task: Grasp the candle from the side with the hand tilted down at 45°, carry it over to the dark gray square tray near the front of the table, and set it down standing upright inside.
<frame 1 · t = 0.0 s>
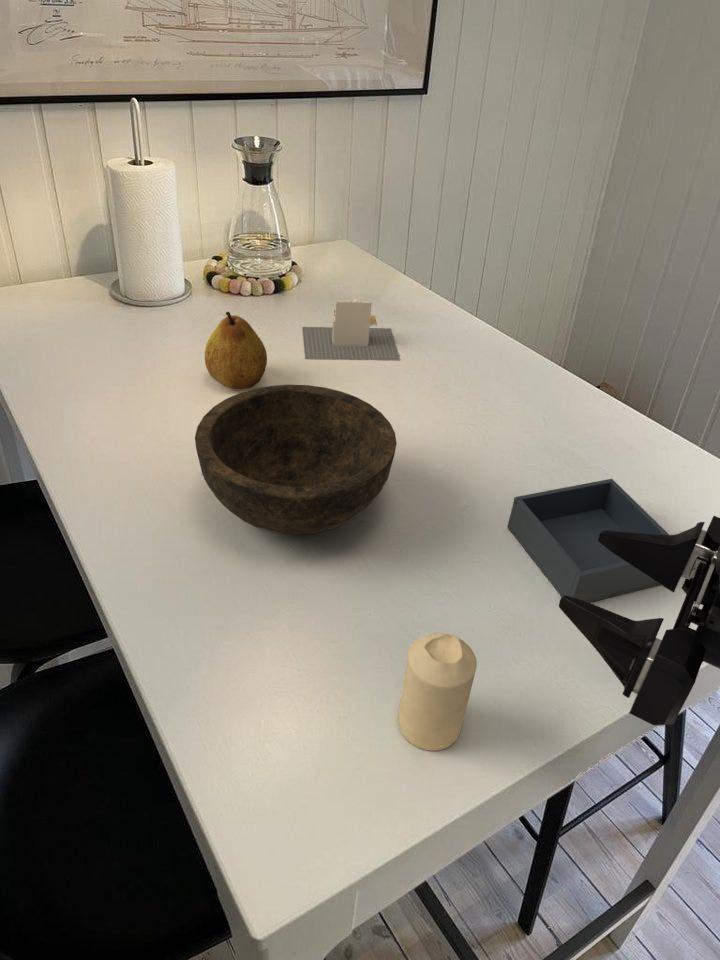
hand: (581, 566, 59), 16 cm above the table, tool horizontal, fingers open, 9 cm apart
fruit: (236, 382, 110), on the table
candle: (428, 724, 65), on the table
architectural model: (349, 344, 122), on the table
bowl: (295, 507, 88), on the table
dark gray square tray: (587, 553, 84), on the table
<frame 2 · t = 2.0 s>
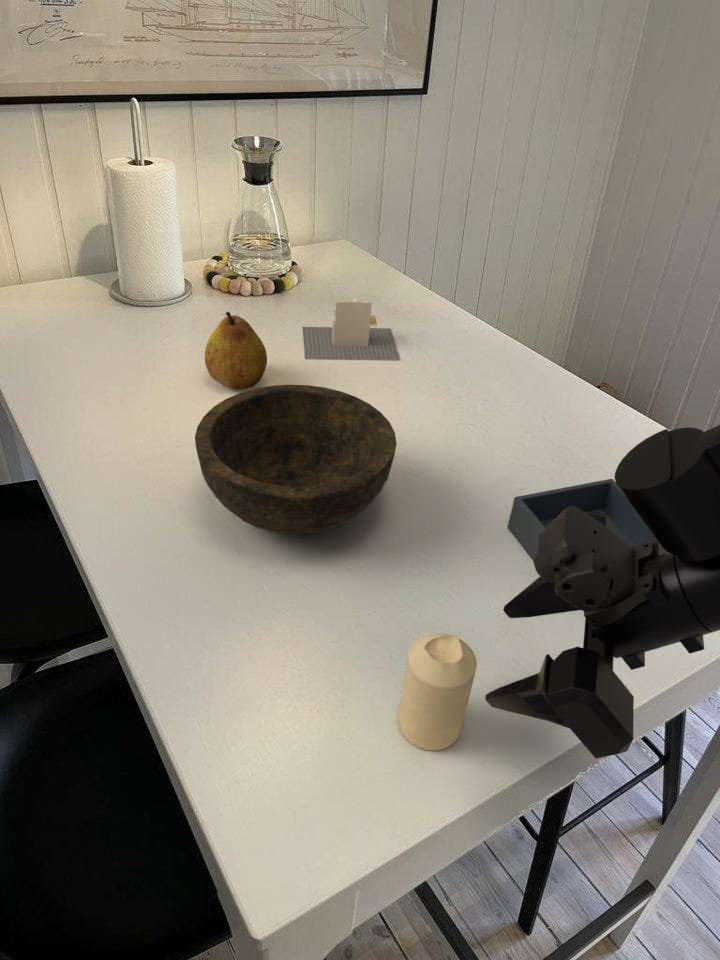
hand: (497, 654, 58), 11 cm above the table, tool tilted 45°, fingers open, 9 cm apart
nothing on the table moved.
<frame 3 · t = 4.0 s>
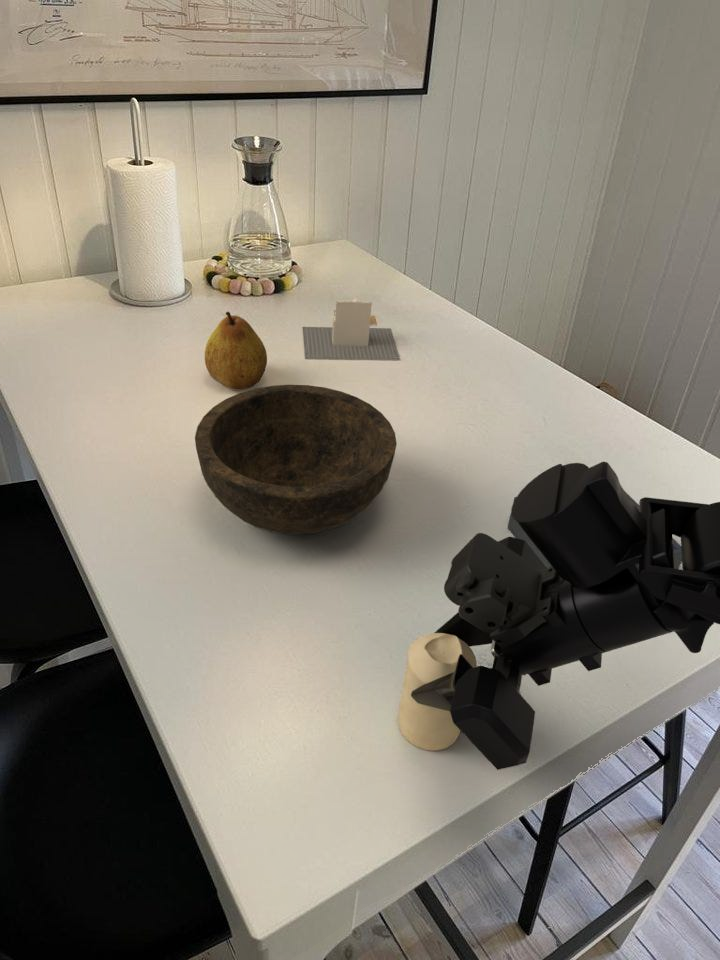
hand: (422, 669, 61), 7 cm above the table, tool tilted 45°, fingers closed on candle, 5 cm apart
candle: (428, 724, 65), on the table, touching gripper
everything else where it was.
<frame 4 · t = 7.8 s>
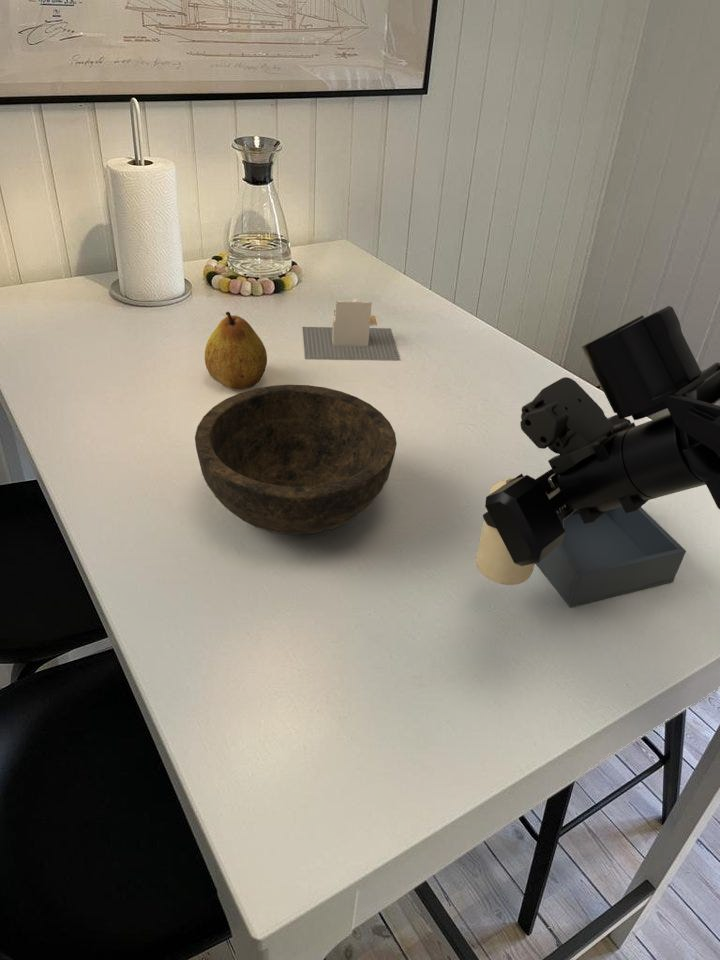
hand: (504, 506, 70), 12 cm above the table, tool tilted 45°, fingers closed on candle, 5 cm apart
candle: (503, 567, 73), point 6 cm above the table, touching gripper
everything else where it was.
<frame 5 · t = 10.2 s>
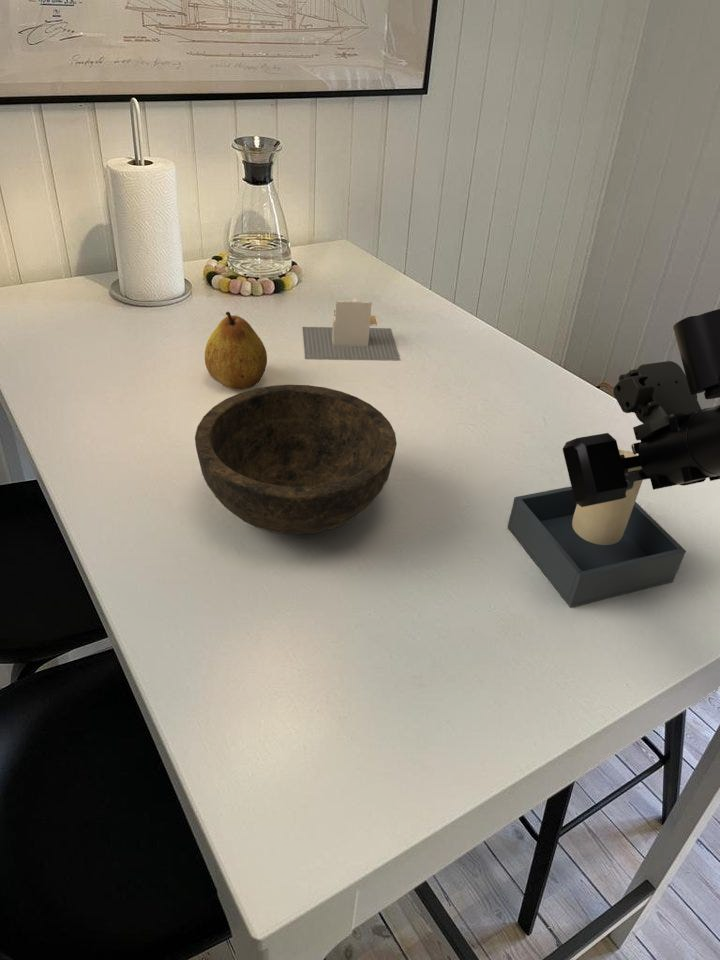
hand: (605, 473, 79), 10 cm above the table, tool tilted 45°, fingers closed on candle, 5 cm apart
candle: (596, 530, 82), point 4 cm above the table, touching gripper
everything else where it was.
when the fingers open (7 cm above the table, at t = 11.7 s): candle stays where it is, resting on dark gray square tray.
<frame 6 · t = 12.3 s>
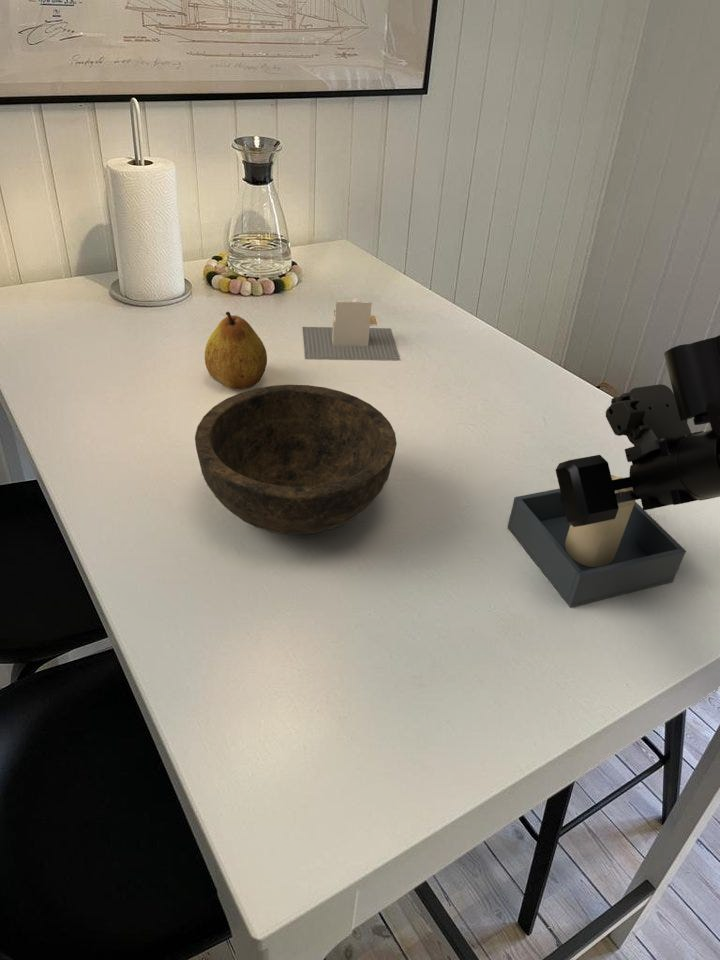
hand: (597, 490, 81), 8 cm above the table, tool tilted 45°, fingers open, 9 cm apart
candle: (588, 552, 84), resting on dark gray square tray
everything else where it was.
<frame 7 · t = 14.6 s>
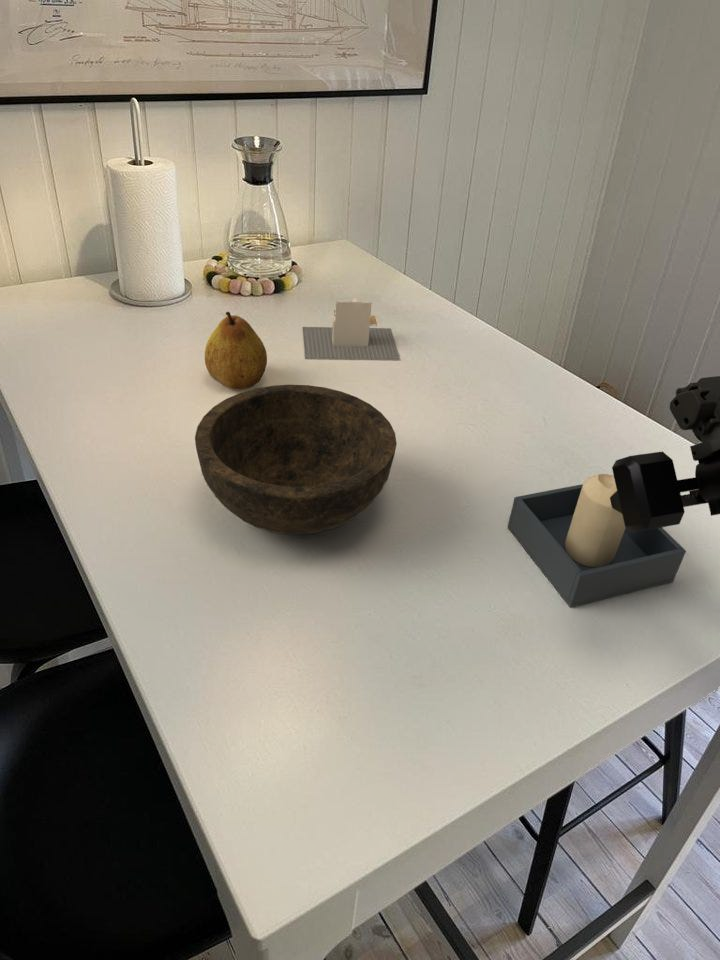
hand: (651, 496, 73), 13 cm above the table, tool tilted 45°, fingers open, 9 cm apart
nothing on the table moved.
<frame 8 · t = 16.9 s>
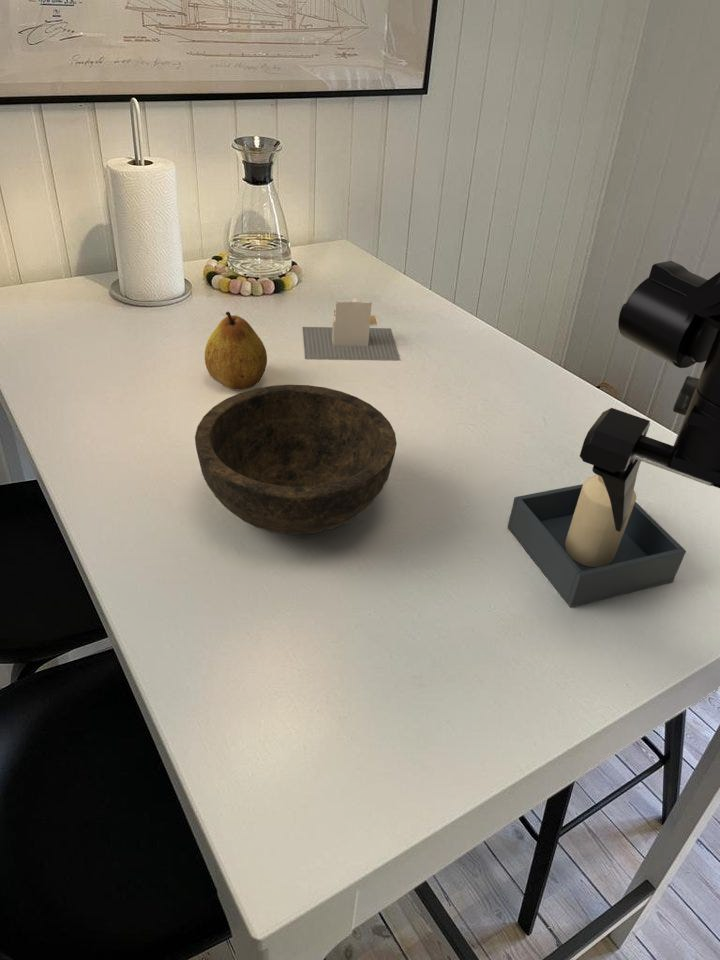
hand: (670, 549, 66), 13 cm above the table, tool pointing down, fingers open, 9 cm apart
nothing on the table moved.
at the end: candle inside the target area in the dark gray square tray (0.1 cm from its centre), point 0.3 cm above the dark gray square tray's base; candle tilted 0°; the gripper is holding nothing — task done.
